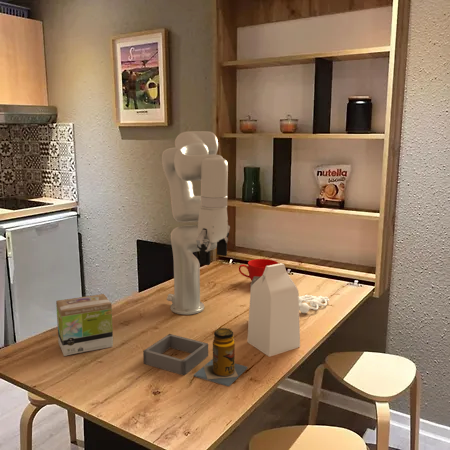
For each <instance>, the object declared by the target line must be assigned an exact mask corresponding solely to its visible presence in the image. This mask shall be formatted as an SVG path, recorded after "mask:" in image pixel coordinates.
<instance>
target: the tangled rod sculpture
mask: <svg viewBox="0 0 450 450" xmlns="http://www.w3.org/2000/svg"><path fill="white" fill-rule="evenodd" d="M330 301H331V300H330V299H329V297H328V296H322V295H319V296H318V295H317V296H314V295H310V294H305V295H301V296H299V313H300V312H301V314H306V313H309V311H310V309H311V310H314V311H317V310H319V307H326V306H327V305H328V302H330ZM322 302H324V303H322ZM308 303H309V304H308Z"/></svg>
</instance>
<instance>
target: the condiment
mask: <svg viewBox="0 0 450 450" xmlns="http://www.w3.org/2000/svg"><path fill="white" fill-rule="evenodd" d="M213 332H214V333H213V340H212V359H213V365H210V366H208V365H206V364H205V365H206V366H205V365H203V366H204V370H205V373H206V376H207V379H218V378H229V377H237V376H238V374H237V372H236V370H235V368H234V367H235V364H236V363H235V362H236V361H235V355H236V354H235V351H236V350H235V348H236V347H235V346H236V344H235V340H234V331H233V329H229V328H227V327H224V328H217V329H215V331H213Z"/></svg>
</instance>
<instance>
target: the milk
mask: <svg viewBox="0 0 450 450" xmlns="http://www.w3.org/2000/svg"><path fill="white" fill-rule="evenodd" d="M250 286H251V285H250ZM249 293H250V294H249V311H248V326H247V327H248V328H247V343H248V344H249V345H251V346H253V347H254V348H256V350H259V352H262V353H263V354H264V355H266V356H268V357H274V356H276V355H279V354H282V353H285V352H289V351H291V350H294V349H298V347H299V348H300V347H301V333H300V332H301V331H300V330H301V329H300V310H299V294H300V293H299V288H298V287H297V286H296V284H295V282H294V280H292V278H291V276H290V275H289V273H288V271H287V270H286V266H285V264H284V263H281V262H280V263H279V262H278V264H274V265H269V266H266V268H265V270H264V273H263V276H261V277H260V278H259V279H258V280H257V281H256V282H255V283H254V284H253V285H252V286H251V292H249Z"/></svg>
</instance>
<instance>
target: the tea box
mask: <svg viewBox="0 0 450 450" xmlns="http://www.w3.org/2000/svg"><path fill="white" fill-rule="evenodd" d="M55 305H56V307H55V308H56V324H57V342H58V345H59V348H60V350H61V352H62V354H63V357H67V356H71V355H75V354H80V353H85V352H86V353H87V352H91V351H96V350H101V349H107V348H108V349H109V348H112V347H113V346H114V345H113V344H114V342H113V341H114V340H113V339H114V337H113V334H114V333H113V331H114V330H113V312H112V311H113V310H112V309H113V307H112V306H113V305H112V303H111V301H110V300H109V298H108V297H107V295H106V294H105V293H100V294H99V293H98V294H93V295H87V296H80V297H73V298H67V299H60V300H56V304H55Z"/></svg>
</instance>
